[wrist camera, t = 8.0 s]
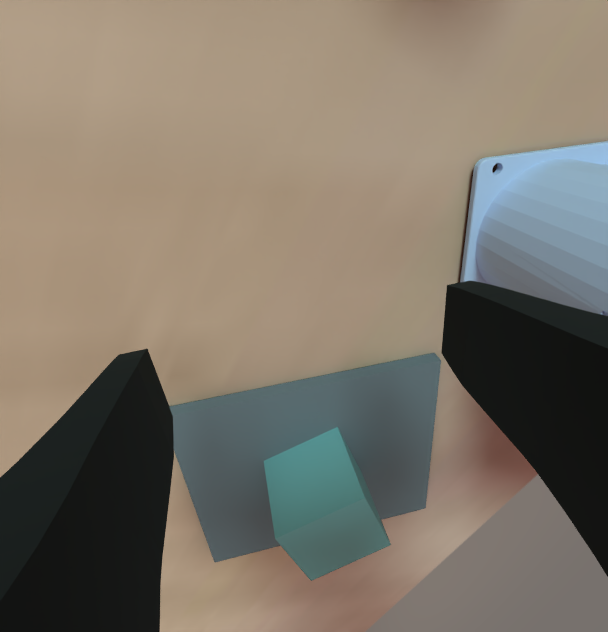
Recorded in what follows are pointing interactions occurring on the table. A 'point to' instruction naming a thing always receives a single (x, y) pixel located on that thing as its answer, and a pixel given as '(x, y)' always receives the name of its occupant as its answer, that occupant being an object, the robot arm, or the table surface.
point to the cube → (322, 505)
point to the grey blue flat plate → (298, 427)
